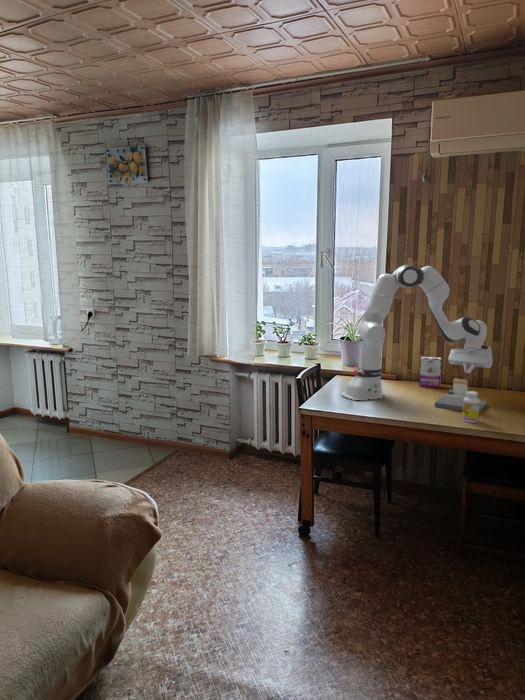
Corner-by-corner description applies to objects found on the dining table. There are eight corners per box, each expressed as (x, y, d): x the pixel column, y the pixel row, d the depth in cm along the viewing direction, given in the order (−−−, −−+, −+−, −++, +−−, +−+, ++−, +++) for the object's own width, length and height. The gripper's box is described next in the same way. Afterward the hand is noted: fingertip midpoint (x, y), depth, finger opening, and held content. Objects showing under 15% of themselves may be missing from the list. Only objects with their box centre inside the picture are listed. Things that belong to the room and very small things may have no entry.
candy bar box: (440, 386, 278) (442, 357, 275) (440, 388, 274) (441, 359, 271) (419, 384, 283) (421, 356, 280) (418, 386, 278) (420, 357, 275)
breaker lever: (467, 402, 238) (466, 382, 233) (453, 400, 242) (452, 380, 236) (468, 400, 240) (467, 379, 234) (454, 398, 243) (453, 378, 238)
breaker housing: (478, 413, 229) (479, 398, 228) (434, 406, 240) (435, 392, 239) (486, 405, 242) (487, 391, 240) (443, 398, 253) (444, 385, 252)
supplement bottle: (459, 418, 222) (460, 390, 220) (473, 418, 223) (475, 390, 220) (466, 423, 215) (468, 394, 213) (481, 422, 216) (483, 394, 214)
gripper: (450, 343, 255) (444, 365, 249) (494, 347, 243) (488, 370, 237) (452, 351, 259) (446, 372, 253) (495, 354, 247) (489, 378, 241)
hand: (467, 371), depth 245 cm, fingers closed
